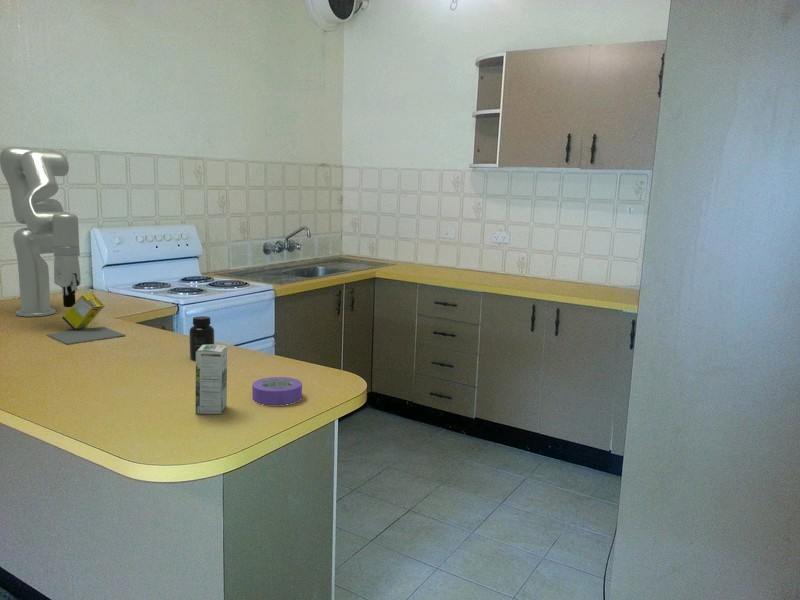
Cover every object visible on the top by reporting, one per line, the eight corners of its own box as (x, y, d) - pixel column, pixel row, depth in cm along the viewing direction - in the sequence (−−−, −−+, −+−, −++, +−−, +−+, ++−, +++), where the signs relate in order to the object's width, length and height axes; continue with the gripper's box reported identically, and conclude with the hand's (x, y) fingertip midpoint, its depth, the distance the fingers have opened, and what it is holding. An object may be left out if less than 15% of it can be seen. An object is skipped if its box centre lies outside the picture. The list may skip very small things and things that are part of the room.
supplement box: (84, 328, 210) (105, 305, 209) (73, 330, 204) (95, 307, 203) (72, 315, 210) (93, 293, 209) (61, 317, 204) (82, 294, 203)
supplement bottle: (219, 357, 182) (219, 317, 180) (203, 362, 176) (202, 321, 174) (201, 353, 185) (200, 314, 183) (184, 358, 179) (183, 318, 177)
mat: (46, 335, 199) (46, 334, 199) (103, 327, 212) (103, 326, 212) (67, 344, 189) (67, 343, 188) (125, 336, 202) (125, 334, 202)
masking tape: (256, 390, 155) (256, 375, 154) (303, 391, 156) (303, 376, 155) (248, 406, 143) (248, 390, 143) (299, 407, 144) (299, 391, 144)
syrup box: (201, 405, 142) (200, 343, 139) (227, 406, 142) (227, 344, 140) (195, 414, 136) (194, 350, 134) (222, 414, 137) (222, 350, 134)
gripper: (45, 250, 205) (48, 304, 208) (64, 254, 196) (67, 311, 199) (69, 249, 211) (71, 302, 214) (88, 253, 202) (91, 308, 205)
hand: (69, 306), depth 207 cm, fingers closed
